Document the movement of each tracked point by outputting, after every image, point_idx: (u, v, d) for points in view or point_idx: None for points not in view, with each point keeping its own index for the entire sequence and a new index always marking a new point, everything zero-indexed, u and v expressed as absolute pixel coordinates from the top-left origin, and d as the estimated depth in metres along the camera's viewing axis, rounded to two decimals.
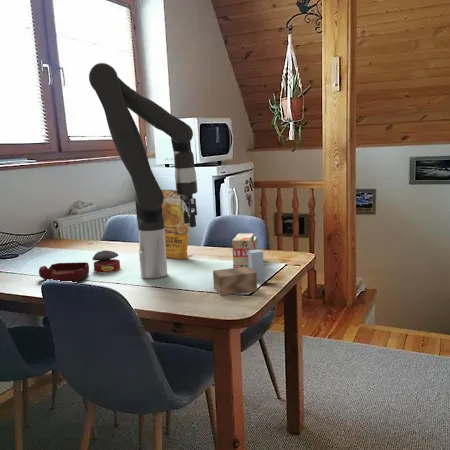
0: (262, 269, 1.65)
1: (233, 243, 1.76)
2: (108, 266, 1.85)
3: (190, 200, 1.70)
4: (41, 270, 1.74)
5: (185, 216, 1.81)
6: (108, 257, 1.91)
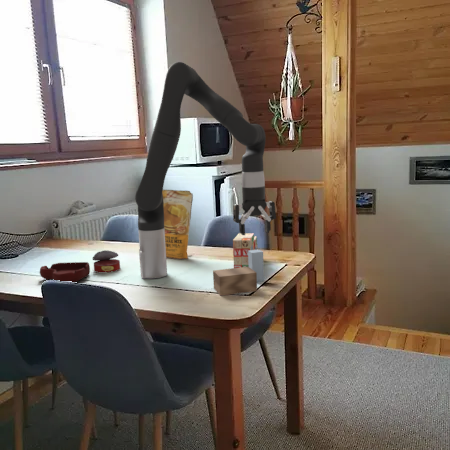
0: (262, 269, 1.65)
1: (234, 243, 1.76)
2: (108, 266, 1.85)
3: None
4: (42, 270, 1.75)
5: None
6: (108, 257, 1.91)
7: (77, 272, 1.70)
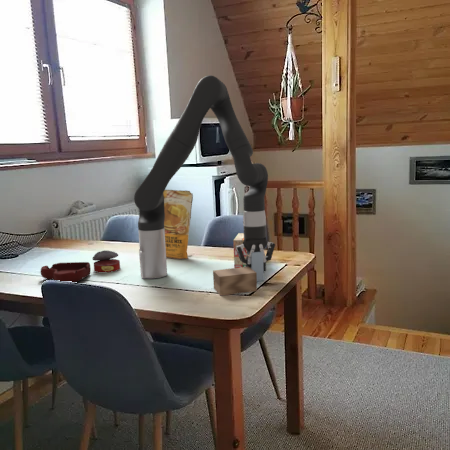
0: (262, 269, 1.65)
1: (234, 243, 1.76)
2: (108, 266, 1.85)
3: None
4: (43, 270, 1.75)
5: None
6: (108, 257, 1.91)
7: (78, 272, 1.71)
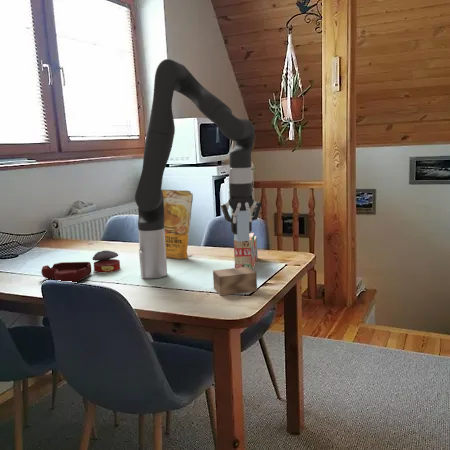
0: (248, 229, 1.61)
1: (235, 243, 1.76)
2: (108, 266, 1.85)
3: None
4: (44, 270, 1.75)
5: None
6: (108, 257, 1.91)
7: (79, 272, 1.71)
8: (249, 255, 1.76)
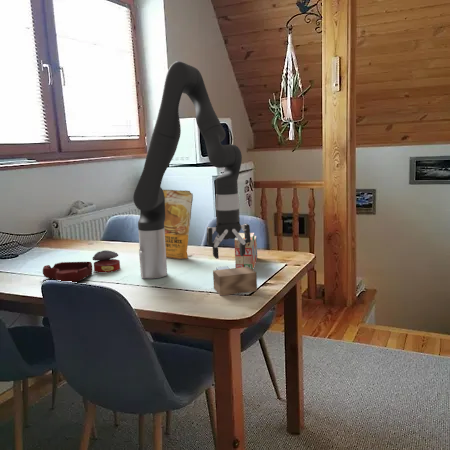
0: None
1: (235, 242, 1.76)
2: (108, 266, 1.85)
3: None
4: (45, 269, 1.75)
5: None
6: (108, 257, 1.91)
7: (80, 271, 1.71)
8: (250, 255, 1.76)
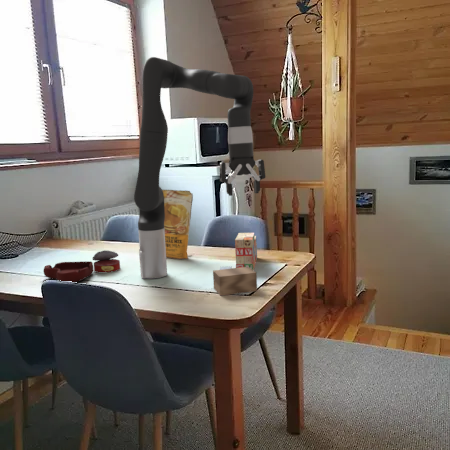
0: None
1: (236, 242, 1.77)
2: (108, 266, 1.85)
3: None
4: (46, 269, 1.76)
5: None
6: (108, 257, 1.91)
7: (81, 271, 1.71)
8: (250, 255, 1.77)
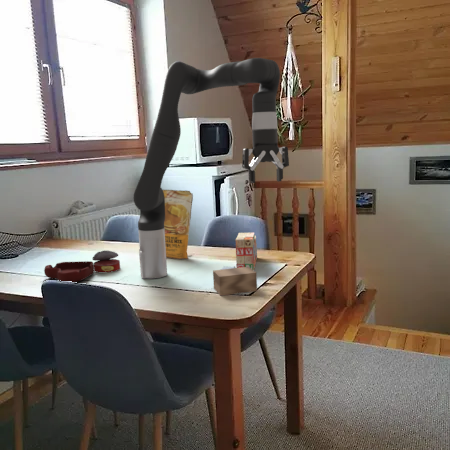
0: None
1: (236, 242, 1.77)
2: (108, 266, 1.85)
3: None
4: (46, 269, 1.76)
5: None
6: (108, 257, 1.91)
7: (82, 271, 1.71)
8: (251, 254, 1.77)
